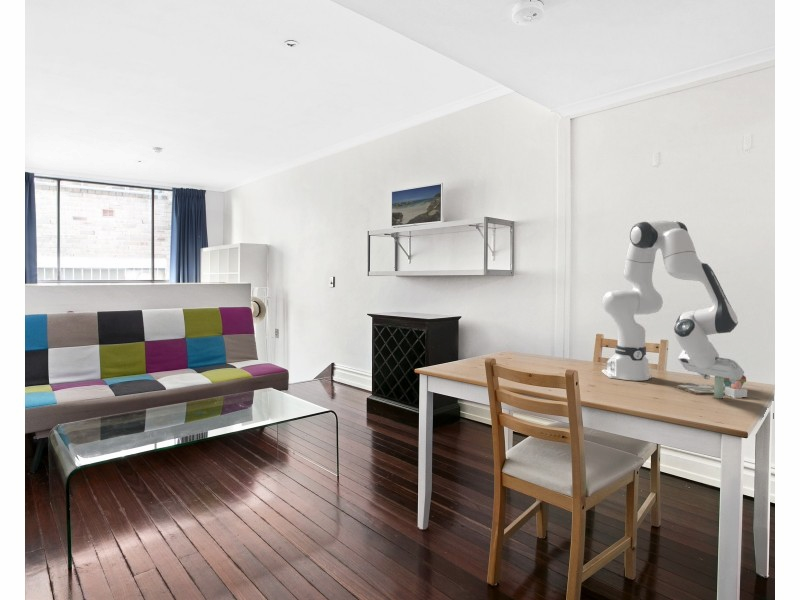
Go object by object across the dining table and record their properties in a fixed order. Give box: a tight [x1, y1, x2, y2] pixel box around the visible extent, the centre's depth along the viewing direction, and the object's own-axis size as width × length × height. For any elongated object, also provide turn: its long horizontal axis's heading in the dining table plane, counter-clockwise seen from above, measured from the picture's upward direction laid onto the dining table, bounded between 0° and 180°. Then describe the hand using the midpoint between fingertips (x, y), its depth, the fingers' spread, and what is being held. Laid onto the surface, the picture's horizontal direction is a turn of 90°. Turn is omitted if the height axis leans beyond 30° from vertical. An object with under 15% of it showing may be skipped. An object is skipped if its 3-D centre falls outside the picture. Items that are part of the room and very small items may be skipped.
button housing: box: [723, 386, 748, 399], centre depth 183 cm, size 5×5×3 cm
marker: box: [713, 376, 725, 399], centre depth 181 cm, size 3×3×12 cm
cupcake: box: [724, 374, 747, 388], centre depth 194 cm, size 9×8×12 cm
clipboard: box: [674, 382, 725, 395], centre depth 193 cm, size 15×14×1 cm
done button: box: [731, 381, 742, 389], centre depth 183 cm, size 3×3×4 cm
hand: (720, 380), depth 181 cm, fingers open, 8 cm apart
